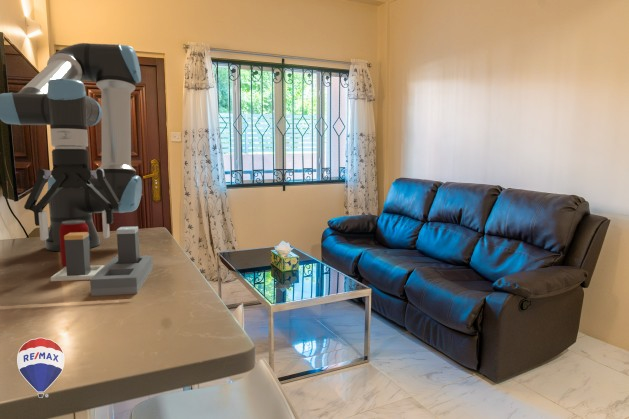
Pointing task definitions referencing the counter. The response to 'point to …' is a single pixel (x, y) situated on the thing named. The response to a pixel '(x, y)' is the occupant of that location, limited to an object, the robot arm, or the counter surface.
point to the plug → (77, 253)
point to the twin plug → (128, 245)
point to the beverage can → (71, 227)
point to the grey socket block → (121, 277)
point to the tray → (63, 275)
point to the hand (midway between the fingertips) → (76, 238)
